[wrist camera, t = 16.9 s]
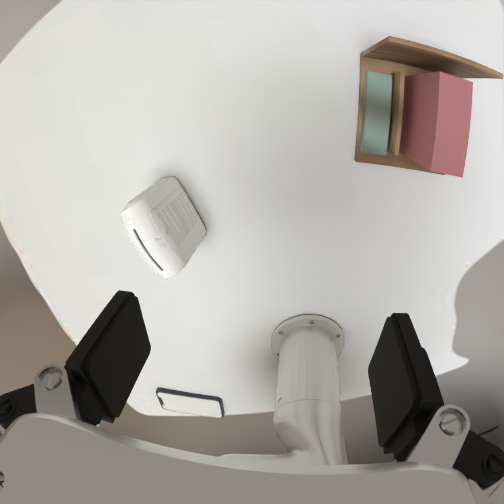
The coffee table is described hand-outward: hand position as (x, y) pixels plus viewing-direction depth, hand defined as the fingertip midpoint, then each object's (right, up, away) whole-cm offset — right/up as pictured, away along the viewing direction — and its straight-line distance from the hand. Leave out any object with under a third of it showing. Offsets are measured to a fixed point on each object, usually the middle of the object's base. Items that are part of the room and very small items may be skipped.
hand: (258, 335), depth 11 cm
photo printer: (-10, +9, +31) cm, 34 cm away
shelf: (+19, +20, +21) cm, 35 cm away
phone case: (-15, -33, +55) cm, 66 cm away
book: (+20, +20, +20) cm, 35 cm away
